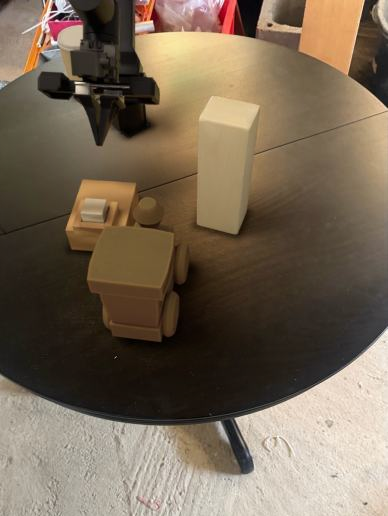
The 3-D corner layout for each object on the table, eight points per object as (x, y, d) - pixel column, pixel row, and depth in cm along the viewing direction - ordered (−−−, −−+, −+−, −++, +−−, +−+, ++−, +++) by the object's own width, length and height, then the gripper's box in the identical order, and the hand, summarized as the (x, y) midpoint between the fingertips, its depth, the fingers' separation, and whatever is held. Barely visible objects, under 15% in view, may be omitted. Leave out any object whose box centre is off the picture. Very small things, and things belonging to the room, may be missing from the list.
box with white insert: (87, 199, 91) (80, 170, 85) (139, 202, 90) (135, 174, 85) (70, 252, 84) (61, 225, 78) (126, 256, 83) (121, 229, 78)
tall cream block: (249, 208, 89) (262, 101, 71) (238, 235, 86) (249, 129, 68) (208, 199, 91) (212, 92, 73) (196, 225, 87) (196, 119, 69)
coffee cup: (88, 75, 114) (77, 19, 103) (117, 88, 111) (109, 32, 100) (60, 93, 110) (46, 37, 99) (90, 107, 107) (79, 51, 96)
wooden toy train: (173, 356, 72) (168, 288, 58) (101, 347, 73) (78, 278, 59) (193, 258, 83) (192, 180, 69) (129, 251, 84) (115, 173, 70)
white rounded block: (87, 207, 81) (85, 198, 79) (108, 208, 81) (106, 199, 79) (83, 222, 79) (80, 213, 77) (104, 223, 79) (102, 214, 77)
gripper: (21, 14, 67) (23, 132, 71) (151, 20, 66) (146, 140, 70) (50, 44, 78) (50, 145, 82) (162, 50, 77) (157, 152, 81)
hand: (99, 145), depth 78 cm, fingers closed
